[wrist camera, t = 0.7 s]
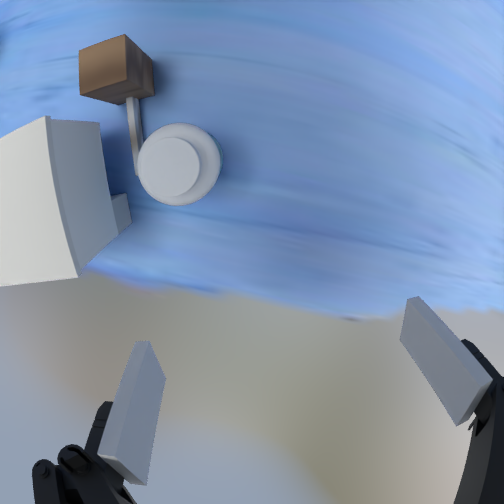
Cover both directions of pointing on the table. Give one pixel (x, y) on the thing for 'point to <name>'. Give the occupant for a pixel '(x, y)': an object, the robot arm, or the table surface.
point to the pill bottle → (179, 164)
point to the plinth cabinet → (55, 201)
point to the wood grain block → (118, 80)
